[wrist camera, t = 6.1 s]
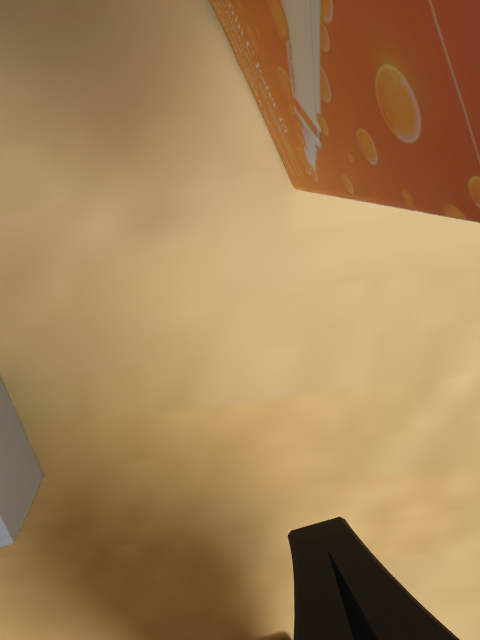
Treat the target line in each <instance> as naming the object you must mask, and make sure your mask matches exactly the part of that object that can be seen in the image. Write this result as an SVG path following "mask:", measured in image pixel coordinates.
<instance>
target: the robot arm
mask: <svg viewBox="0 0 480 640" xmlns="http://www.w3.org/2000/svg"><path fill="white" fill-rule="evenodd" d="M288 539H289V543H290V547H291V553H292V560H293V572H294V611H295V619H294V640H460V639H458V638H457V637H456V636H455V635H454V634H453V633H452V632H451V631H449V630H448V629H447V628H446V627H445V626H444V625H443V624H442V623H440V622H439V621H438V620H437V619H436V618H435V617H434V616H433V615H432V614H431V613H430V612H429V611H428V610H426V609H425V608H424V607H423V606H422V605H421V604H420V603H419V602H418V601H417V600H416V599H415V598H414V597H413V596H412V595H411V594H410V593H409V592H408V591H407V590H406V589H405V588H404V587H403V586H402V585H401V584H400V583H399V582H398V581H397V580H396V579H395V578H394V577H393V576H392V575H391V574H390V573H389V572H388V571H387V569H386V568H385V567H384V566H383V565H382V564H381V563H380V562H379V561H378V560H377V558H376V557H375V556H374V555H373V554H372V553H371V552H370V551H369V549H368V548H367V547H366V546H365V545H364V543H363V542H362V541H361V540H360V539H359V537H358V536H357V535H356V534H355V532H354V531H353V530H352V528H351V527H350V526H349V524H348V523H347V522H346V520H345V519H343V518H341V517H337V518H334V519H330V520H327V521H323V522H320V523H316V524H313V525H309V526H306V527H302V528H299V529H295V530H292V531H291V532H290V533H289V535H288Z"/></svg>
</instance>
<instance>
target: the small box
mask: <svg viewBox="0 0 480 640" xmlns="http://www.w3.org/2000/svg"><path fill="white" fill-rule="evenodd" d="M210 2H211V4H212V6H213V8H214V10H215V12H216V14H217V16H218V19H219V21H220V23H221V25H222V27H223V29H224V31H225V33H226V35H227V38H228V40H229V42H230V44H231V46H232V48H233V51H234V53H235V55H236V57H237V60H238V62H239V64H240V66H241V68H242V71H243V73H244V75H245V77H246V79H247V81H248V83H249V85H250V88H251V90H252V92H253V94H254V97H255V99H256V101H257V103H258V106H259V108H260V110H261V112H262V115H263V117H264V119H265V122H266V124H267V126H268V128H269V131H270V133H271V135H272V137H273V140H274V142H275V144H276V146H277V149H278V151H279V153H280V156H281V158H282V160H283V163H284V165H285V167H286V170H287V172H288V174H289V176H290V179H291V181H292V184H293V186H294V188H295V189H297V190H300V191H306V192H311V193H317V194H322V195H327V196H333V197H338V198H344V199H350V200H355V201H362V202H367V203H373V204H378V205H384V206H389V207H395V208H402V209H407V210H411V211H418V212H423V213H428V214H433V215H439V216H445V217H450V218H456V219H462V220H467V221H473V222H479V223H480V0H210Z"/></svg>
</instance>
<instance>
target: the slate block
mask: <svg viewBox="0 0 480 640" xmlns="http://www.w3.org/2000/svg"><path fill="white" fill-rule="evenodd" d="M43 478H44V475H43V473H42V471H41V468H40V466H39V464H38V461H37V459H36V457H35V454H34V452H33V450H32V448H31V445H30V443H29V441H28V438H27V436H26V434H25V431H24V429H23V427H22V424H21V422H20V420H19V417H18V415H17V413H16V411H15V408H14V406H13V404H12V401H11V399H10V397H9V394H8V392H7V390H6V387H5V385H4V383H3V380H2V378H1V376H0V547H3V546H7V545H11V544H14V543H15V541H16V538H17V536H18V534H19V532H20V529H21V527H22V525H23V523H24V520H25V518H26V516H27V514H28V511H29V509H30V507H31V505H32V502H33V500H34V498H35V496H36V493H37V491H38V489H39V487H40V484H41V482H42V480H43Z"/></svg>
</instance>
